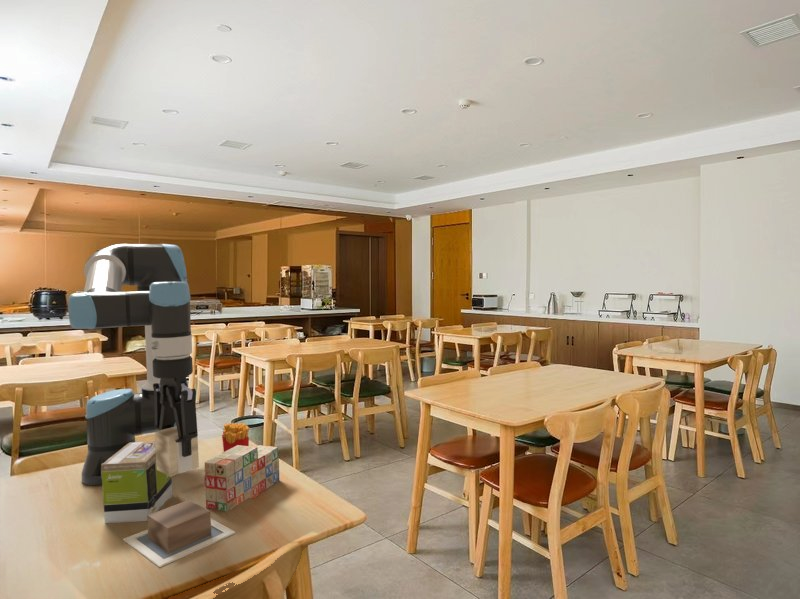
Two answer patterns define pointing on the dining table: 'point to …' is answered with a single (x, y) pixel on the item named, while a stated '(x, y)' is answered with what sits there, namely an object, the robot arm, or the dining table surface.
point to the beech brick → (171, 451)
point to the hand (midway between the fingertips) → (177, 467)
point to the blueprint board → (164, 558)
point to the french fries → (235, 435)
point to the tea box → (133, 484)
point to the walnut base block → (179, 525)
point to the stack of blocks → (240, 475)
